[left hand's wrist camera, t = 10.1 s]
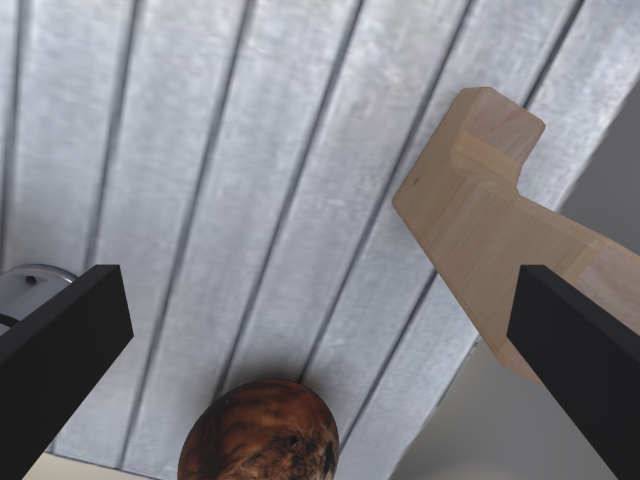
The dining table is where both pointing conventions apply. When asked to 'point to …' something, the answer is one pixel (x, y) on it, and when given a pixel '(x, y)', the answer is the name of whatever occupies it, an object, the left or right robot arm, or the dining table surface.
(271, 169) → the dining table surface
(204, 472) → the plush toy
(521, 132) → the decorative block
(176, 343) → the dining table surface
